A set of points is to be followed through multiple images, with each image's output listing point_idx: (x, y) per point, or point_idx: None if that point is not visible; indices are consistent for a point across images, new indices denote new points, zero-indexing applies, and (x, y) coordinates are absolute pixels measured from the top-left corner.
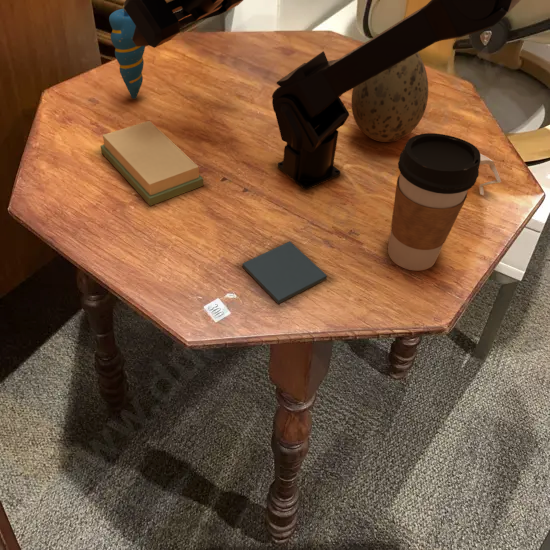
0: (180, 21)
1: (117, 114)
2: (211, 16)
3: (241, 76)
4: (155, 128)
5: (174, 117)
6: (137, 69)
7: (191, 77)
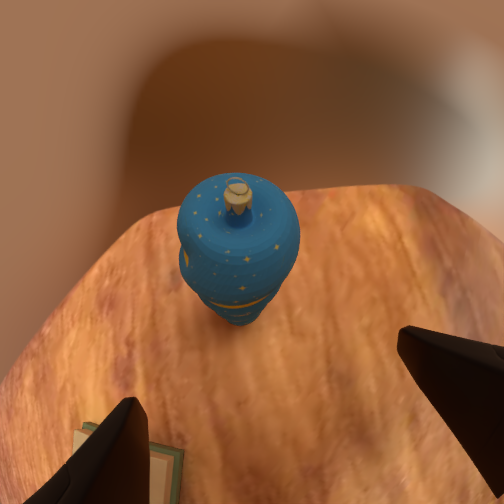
0: (403, 348)
1: (179, 344)
2: (479, 470)
3: None
4: (159, 488)
5: (263, 423)
6: (236, 320)
7: (379, 309)
